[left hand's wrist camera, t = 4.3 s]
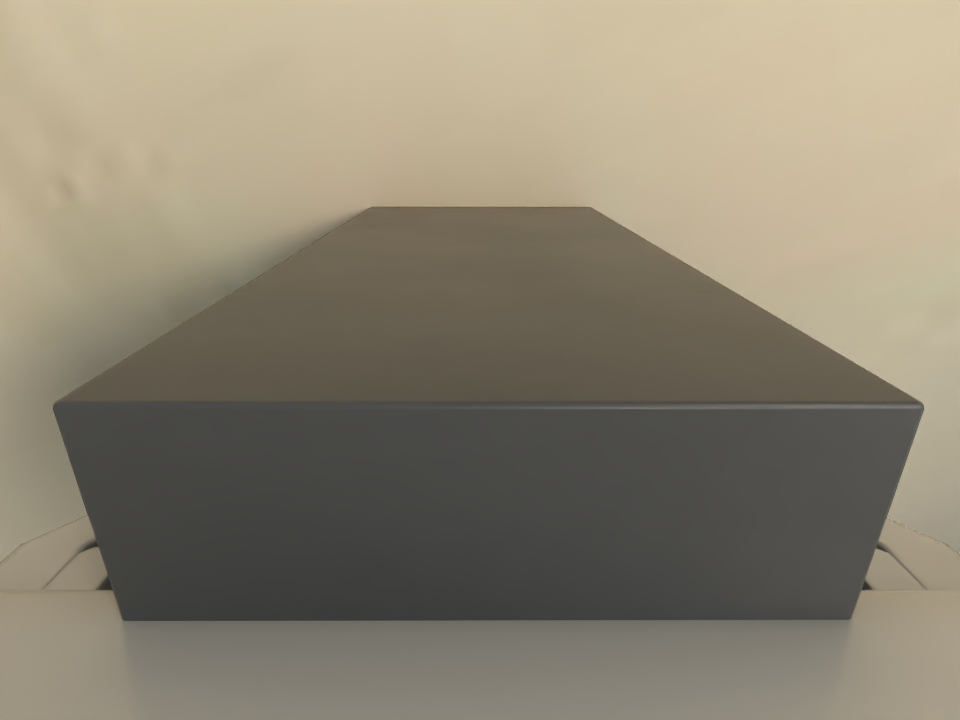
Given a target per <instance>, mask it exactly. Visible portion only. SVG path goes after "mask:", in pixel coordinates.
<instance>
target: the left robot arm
mask: <svg viewBox="0 0 960 720" xmlns="http://www.w3.org/2000/svg"><path fill="white" fill-rule="evenodd" d="M0 720H960V555H959V554H957V553H956V552H955V551H954V550H953V549H952V548H950V547H949V546H948V545H946V544H944V543H941V542H939V541H937V540H934V539H932V538H930V537H928V536H925V535H923V534H921V533H919V532H916V531H914V530H912V529H910V528H907V527H905V526H903V525H901V524H898V523H896V522H894V521H892V520H889V519H887V518H886V520H885V523H884V526H883V529H882V532H881V535H880V538H879V541H878V543H877V546H876V549H875V552H874V555H873V558H872V561H871V564H870V567H869V569H868V572H867V575H866V578H865V581H864V584H863V587H862V590H861V593H860V595H859V598H858V601H857V604H856V607H855V610H854V613H853V616H852V619H849V620H445V621H124V620H122V617H121V614H120V611H119V608H118V605H117V602H116V599H115V596H114V593H113V590H112V586H111V583H110V580H109V577H108V574H107V571H106V568H105V565H104V562H103V559H102V556H101V553H100V550H99V547H98V544H97V541H96V538H95V535H94V532H93V529H92V526H91V523H90V520H89V517H88V515H87V516H84V517H82V518H80V519H78V520H75V521H73V522H71V523H69V524H66V525H64V526H62V527H60V528H57V529H55V530H53V531H51V532H49V533H46V534H44V535H42V536H40V537H37V538H35V539H33V540H31V541H28V542H26V543H24V544H22V545H20V546H19V547H18V548H17V549H16V550H14V551H13V552H12V553H11V554H10V555H9V556H8V557H6V558H5V559H4V560H3V561H2V562H1V563H0Z"/></svg>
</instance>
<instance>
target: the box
mask: <svg viewBox="0 0 960 720" xmlns="http://www.w3.org/2000/svg"><path fill="white" fill-rule="evenodd" d="M53 410H54V414H55V417H56V420H57V423H58V426H59V429H60V432H61V435H62V438H63V441H64V444H65V447H66V450H67V453H68V456H69V459H70V462H71V465H72V468H73V471H74V474H75V477H76V480H77V483H78V486H79V489H80V492H81V495H82V498H83V502H84V505H85V508H86V511H87V514H88V517H89V520H90V523H91V526H92V529H93V532H94V535H95V538H96V541H97V544H98V547H99V550H100V553H101V556H102V559H103V562H104V565H105V568H106V571H107V574H108V577H109V580H110V583H111V586H112V590H113V593H114V596H115V599H116V602H117V605H118V608H119V611H120V614H121V617H122V620H124V621H445V620H849V619H852V616H853V613H854V610H855V607H856V604H857V601H858V598H859V595H860V593H861V590H862V587H863V584H864V581H865V578H866V575H867V572H868V569H869V567H870V564H871V561H872V558H873V555H874V552H875V549H876V546H877V543H878V541H879V538H880V535H881V532H882V529H883V526H884V523H885V520H886V517H887V515H888V512H889V509H890V506H891V503H892V500H893V497H894V494H895V491H896V489H897V486H898V483H899V480H900V477H901V474H902V471H903V468H904V466H905V463H906V460H907V457H908V454H909V451H910V448H911V445H912V442H913V440H914V437H915V434H916V431H917V428H918V425H919V422H920V419H921V416H922V414H923V411H924V405H923V404H922V402H920V401H918V400H917V399H915V398H913V397H912V396H910V395H908V394H907V393H905V392H903V391H901V390H900V389H898V388H896V387H895V386H893V385H891V384H890V383H888V382H886V381H884V380H883V379H881V378H879V377H878V376H876V375H874V374H873V373H871V372H869V371H868V370H866V369H864V368H862V367H861V366H859V365H857V364H856V363H854V362H852V361H851V360H849V359H847V358H845V357H844V356H842V355H840V354H839V353H837V352H835V351H834V350H832V349H830V348H829V347H827V346H825V345H823V344H822V343H820V342H818V341H817V340H815V339H813V338H812V337H810V336H808V335H806V334H805V333H803V332H801V331H800V330H798V329H796V328H795V327H793V326H791V325H790V324H788V323H786V322H784V321H783V320H781V319H779V318H778V317H776V316H774V315H773V314H771V313H769V312H768V311H766V310H764V309H762V308H761V307H759V306H757V305H756V304H754V303H752V302H751V301H749V300H747V299H745V298H744V297H742V296H740V295H739V294H737V293H735V292H734V291H732V290H730V289H729V288H727V287H725V286H723V285H722V284H720V283H718V282H717V281H715V280H713V279H712V278H710V277H708V276H706V275H705V274H703V273H701V272H700V271H698V270H696V269H695V268H693V267H691V266H690V265H688V264H686V263H684V262H683V261H681V260H679V259H678V258H676V257H674V256H673V255H671V254H669V253H667V252H666V251H664V250H662V249H661V248H659V247H657V246H656V245H654V244H652V243H651V242H649V241H647V240H645V239H644V238H642V237H640V236H639V235H637V234H635V233H634V232H632V231H630V230H629V229H627V228H625V227H623V226H622V225H620V224H618V223H617V222H615V221H613V220H612V219H610V218H608V217H606V216H605V215H603V214H601V213H600V212H598V211H596V210H595V209H593V208H591V207H371V208H369V209H368V210H366V211H364V212H363V213H361V214H359V215H358V216H356V217H355V218H353V219H351V220H350V221H348V222H346V223H345V224H343V225H342V226H340V227H338V228H337V229H335V230H334V231H332V232H330V233H329V234H327V235H325V236H324V237H322V238H321V239H319V240H317V241H316V242H314V243H312V244H311V245H309V246H308V247H306V248H304V249H303V250H301V251H299V252H298V253H296V254H295V255H293V256H291V257H290V258H288V259H287V260H285V261H283V262H282V263H280V264H278V265H277V266H275V267H274V268H272V269H270V270H269V271H267V272H265V273H264V274H262V275H261V276H259V277H257V278H256V279H254V280H252V281H251V282H249V283H248V284H246V285H244V286H243V287H241V288H240V289H238V290H236V291H235V292H233V293H231V294H230V295H228V296H227V297H225V298H223V299H222V300H220V301H218V302H217V303H215V304H214V305H212V306H210V307H209V308H207V309H205V310H204V311H202V312H201V313H199V314H197V315H196V316H194V317H193V318H191V319H189V320H188V321H186V322H184V323H183V324H181V325H180V326H178V327H176V328H175V329H173V330H171V331H170V332H168V333H167V334H165V335H163V336H162V337H160V338H158V339H157V340H155V341H154V342H152V343H150V344H149V345H147V346H146V347H144V348H142V349H141V350H139V351H137V352H136V353H134V354H133V355H131V356H129V357H128V358H126V359H124V360H123V361H121V362H120V363H118V364H116V365H115V366H113V367H111V368H110V369H108V370H107V371H105V372H103V373H102V374H100V375H99V376H97V377H95V378H94V379H92V380H90V381H89V382H87V383H86V384H84V385H82V386H81V387H79V388H77V389H76V390H74V391H73V392H71V393H69V394H68V395H66V396H64V397H63V398H61V399H60V400H58V401H56V402H55V403H54V405H53Z"/></svg>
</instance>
